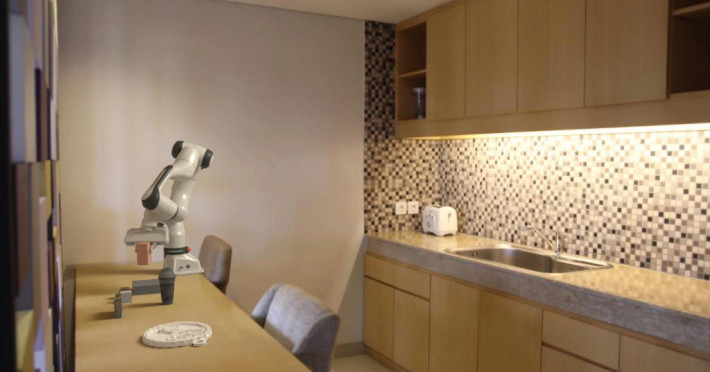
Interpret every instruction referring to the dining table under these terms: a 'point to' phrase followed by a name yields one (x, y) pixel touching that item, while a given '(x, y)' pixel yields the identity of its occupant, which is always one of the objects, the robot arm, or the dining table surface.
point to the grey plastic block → (126, 296)
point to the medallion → (177, 334)
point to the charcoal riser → (146, 287)
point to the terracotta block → (143, 253)
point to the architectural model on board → (118, 306)
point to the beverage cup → (167, 285)
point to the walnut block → (124, 289)
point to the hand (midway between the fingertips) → (143, 251)
